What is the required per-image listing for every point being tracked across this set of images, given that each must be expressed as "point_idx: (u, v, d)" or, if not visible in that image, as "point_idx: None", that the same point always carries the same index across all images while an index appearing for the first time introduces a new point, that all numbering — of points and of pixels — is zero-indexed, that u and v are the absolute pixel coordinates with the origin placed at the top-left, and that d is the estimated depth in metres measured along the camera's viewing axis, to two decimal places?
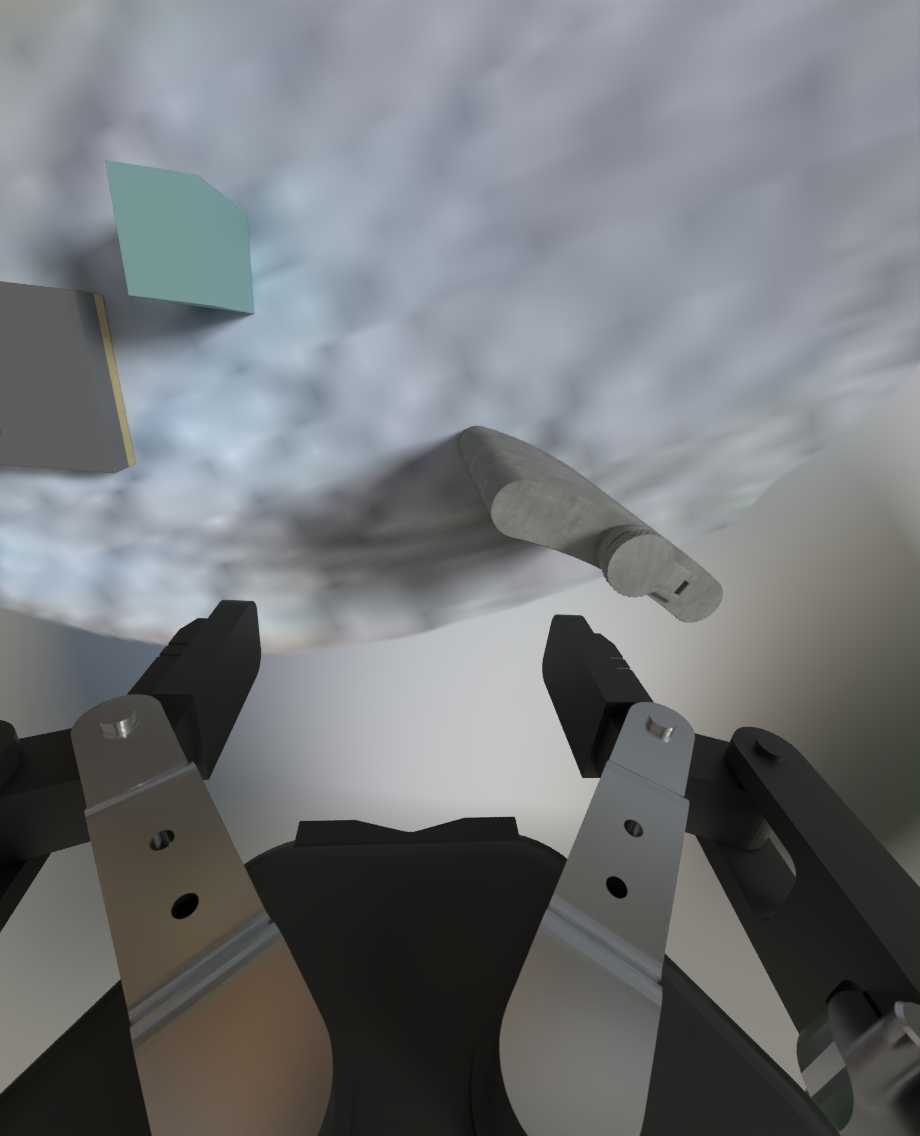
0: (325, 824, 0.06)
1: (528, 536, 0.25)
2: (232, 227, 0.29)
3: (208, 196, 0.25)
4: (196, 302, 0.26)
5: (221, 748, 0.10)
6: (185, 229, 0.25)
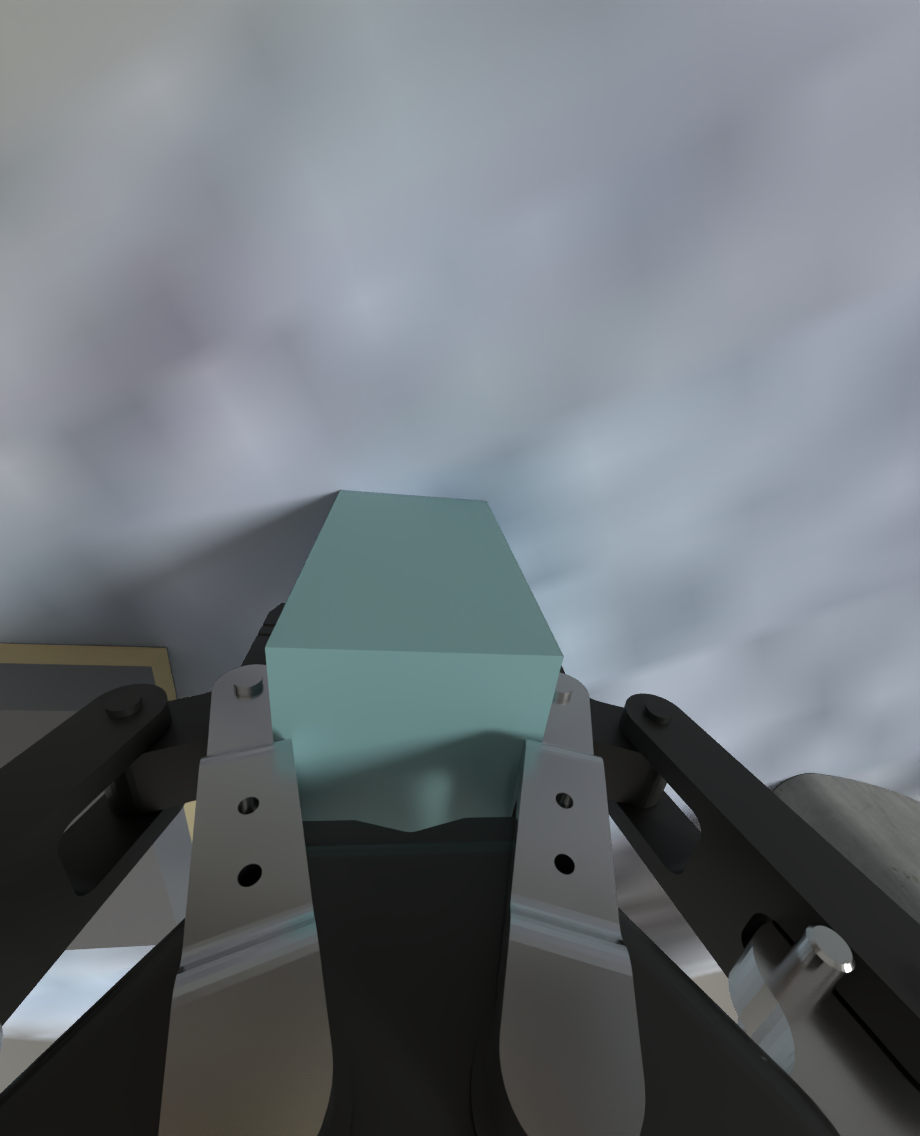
0: (325, 824, 0.06)
1: None
2: None
3: None
4: None
5: None
6: (481, 768, 0.08)
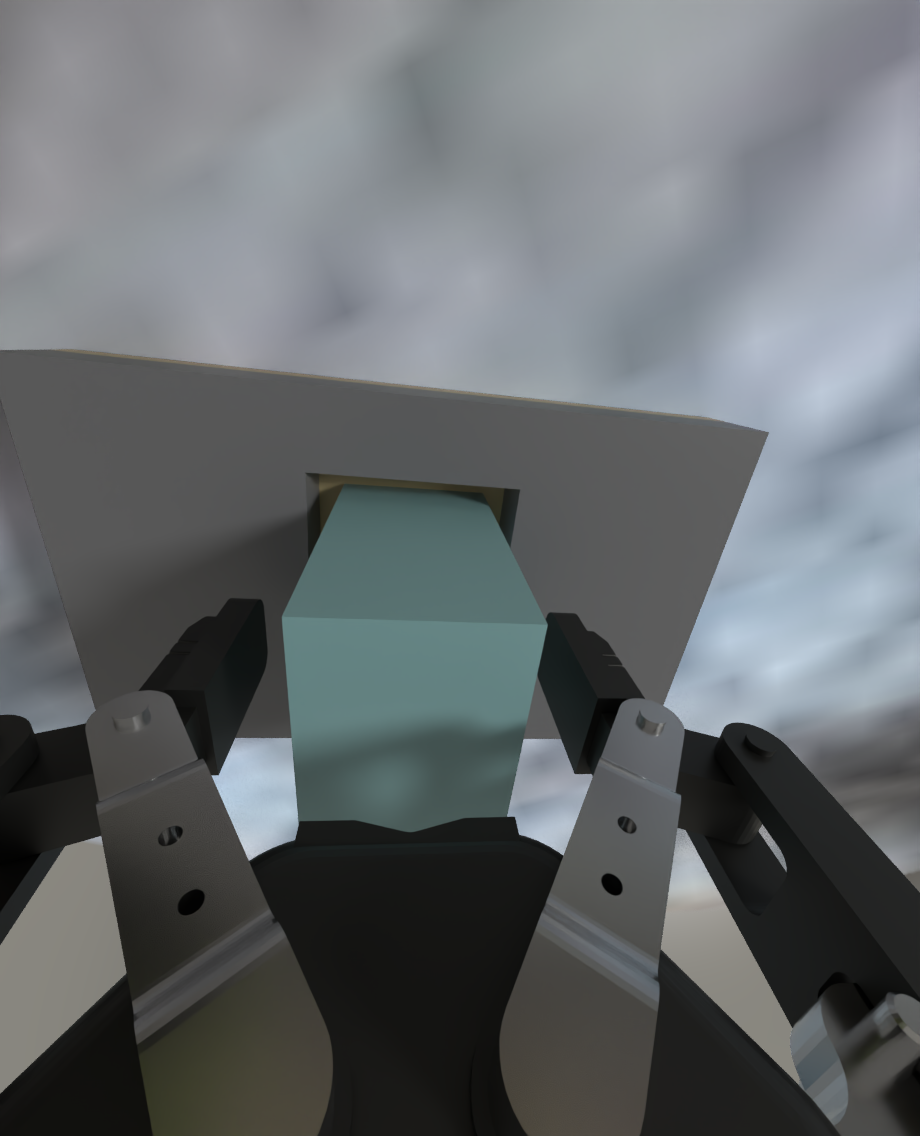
0: (325, 823, 0.06)
1: None
2: None
3: None
4: None
5: (230, 744, 0.10)
6: (475, 730, 0.09)
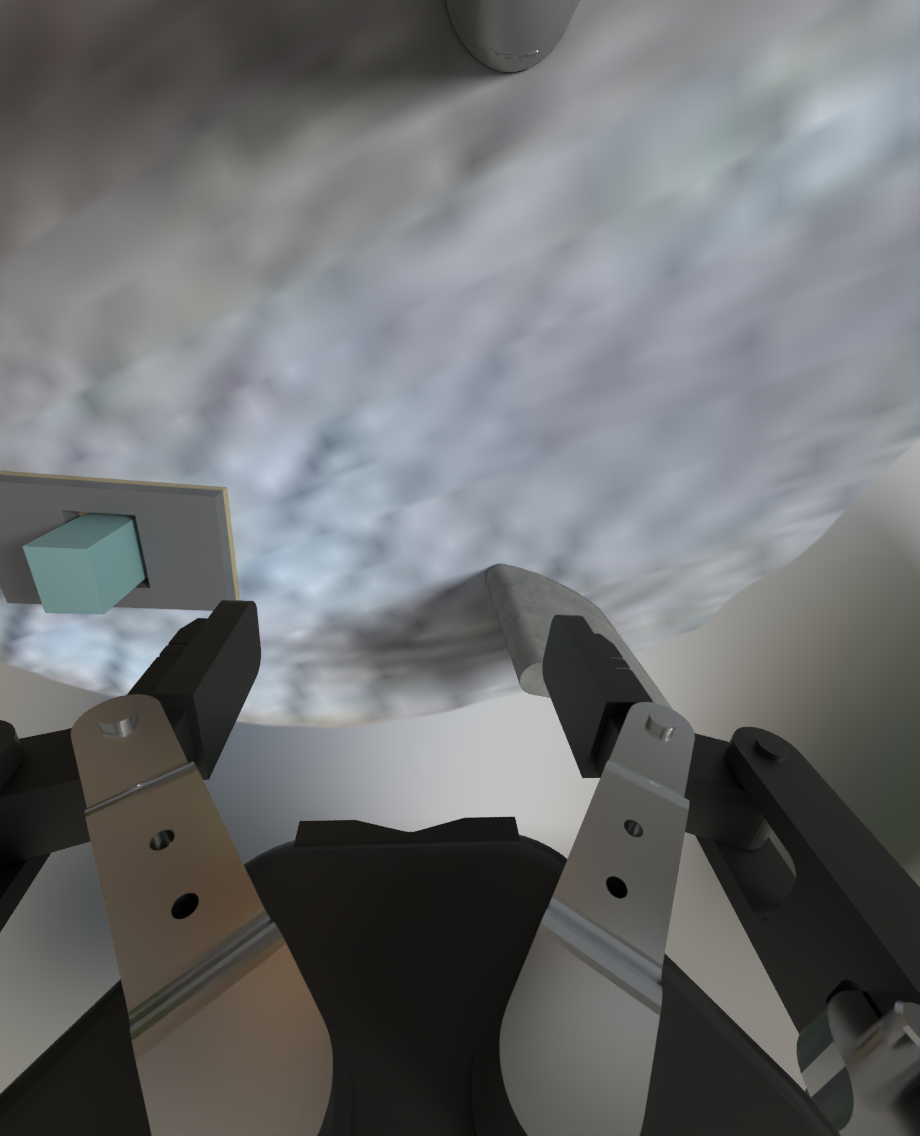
0: (325, 824, 0.06)
1: (544, 693, 0.36)
2: (124, 541, 0.41)
3: (96, 551, 0.37)
4: (92, 613, 0.38)
5: (221, 748, 0.10)
6: (80, 576, 0.37)
